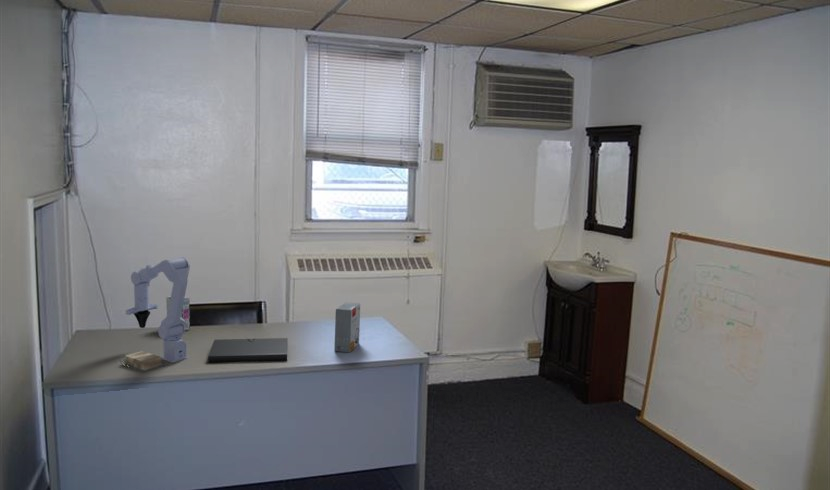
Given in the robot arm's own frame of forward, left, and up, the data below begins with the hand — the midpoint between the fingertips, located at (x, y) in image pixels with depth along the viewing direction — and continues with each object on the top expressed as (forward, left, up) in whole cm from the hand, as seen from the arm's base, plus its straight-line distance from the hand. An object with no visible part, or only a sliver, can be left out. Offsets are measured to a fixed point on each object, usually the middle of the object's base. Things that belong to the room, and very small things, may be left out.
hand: (142, 327), depth 292 cm
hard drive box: (-70, -59, -10) cm, 92 cm away
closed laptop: (-41, -25, -11) cm, 49 cm away
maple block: (-13, +13, -8) cm, 20 cm away
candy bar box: (+14, -30, -10) cm, 35 cm away
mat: (-18, +13, -10) cm, 24 cm away
